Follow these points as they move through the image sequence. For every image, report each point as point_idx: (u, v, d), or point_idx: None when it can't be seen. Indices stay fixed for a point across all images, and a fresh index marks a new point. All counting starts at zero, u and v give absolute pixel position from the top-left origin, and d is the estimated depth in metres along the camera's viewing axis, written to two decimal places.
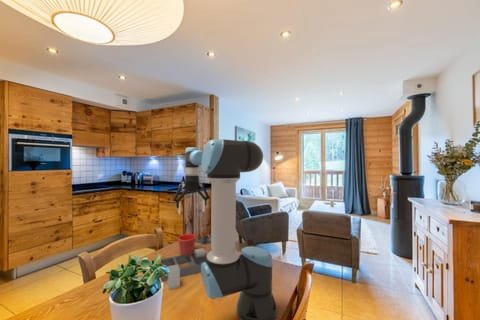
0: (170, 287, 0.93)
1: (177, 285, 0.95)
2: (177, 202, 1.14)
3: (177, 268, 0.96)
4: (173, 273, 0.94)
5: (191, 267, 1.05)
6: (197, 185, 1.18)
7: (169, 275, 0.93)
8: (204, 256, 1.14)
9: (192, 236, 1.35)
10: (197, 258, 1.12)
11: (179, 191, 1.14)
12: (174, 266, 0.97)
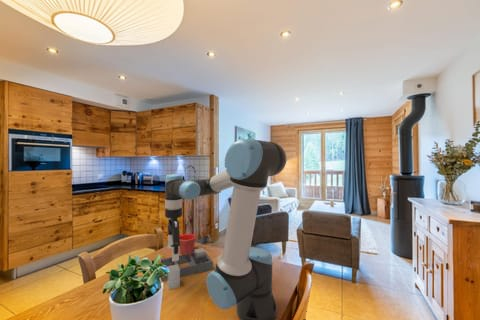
0: (170, 287, 0.93)
1: (177, 285, 0.95)
2: None
3: (177, 268, 0.96)
4: (173, 273, 0.94)
5: (191, 267, 1.05)
6: (171, 222, 0.93)
7: (169, 275, 0.93)
8: (204, 256, 1.14)
9: (192, 236, 1.35)
10: (197, 258, 1.12)
11: (168, 222, 1.02)
12: (174, 266, 0.97)
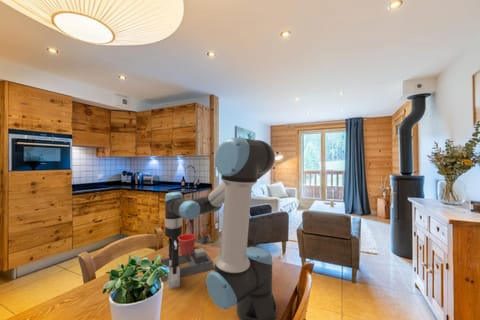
0: (170, 287, 0.93)
1: (177, 285, 0.95)
2: None
3: None
4: None
5: (191, 267, 1.05)
6: (171, 241, 0.93)
7: (169, 275, 0.93)
8: (204, 256, 1.14)
9: (192, 236, 1.35)
10: (197, 258, 1.12)
11: None
12: None
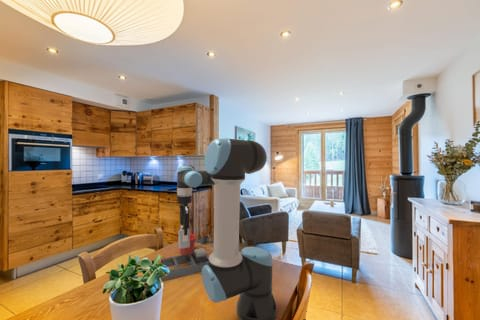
0: (181, 246, 1.08)
1: (187, 245, 1.10)
2: (181, 224, 1.15)
3: None
4: None
5: (191, 267, 1.05)
6: (183, 207, 1.08)
7: (181, 236, 1.08)
8: (204, 256, 1.14)
9: (192, 236, 1.35)
10: (197, 258, 1.12)
11: (180, 212, 1.16)
12: None
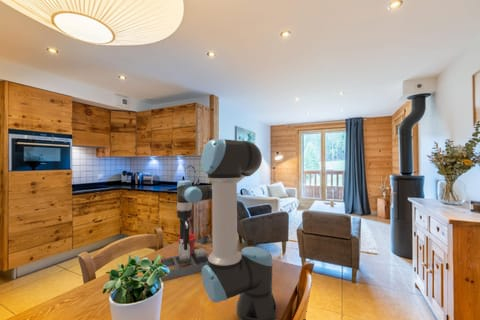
0: (181, 261, 1.08)
1: (187, 260, 1.10)
2: None
3: None
4: None
5: (191, 267, 1.05)
6: (183, 222, 1.08)
7: (181, 251, 1.08)
8: (204, 256, 1.14)
9: (192, 236, 1.35)
10: (197, 258, 1.12)
11: None
12: None
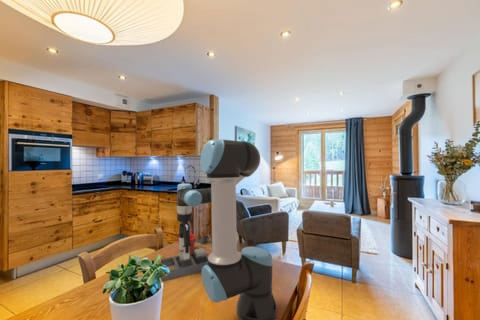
0: None
1: None
2: (180, 237, 1.17)
3: None
4: None
5: (191, 267, 1.05)
6: (183, 225, 1.08)
7: (181, 259, 1.08)
8: (204, 256, 1.14)
9: (192, 236, 1.35)
10: (197, 258, 1.12)
11: (179, 226, 1.17)
12: None
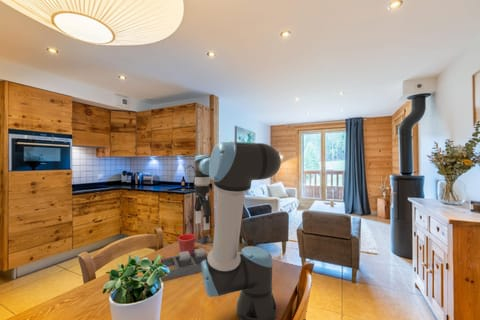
0: None
1: None
2: (196, 210, 1.15)
3: (187, 253, 1.11)
4: (184, 258, 1.09)
5: (191, 267, 1.05)
6: (201, 197, 1.06)
7: (181, 259, 1.08)
8: (204, 256, 1.14)
9: (192, 236, 1.35)
10: (197, 258, 1.12)
11: (196, 200, 1.14)
12: (185, 252, 1.12)
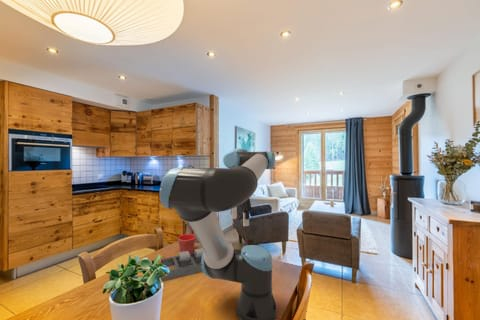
0: None
1: None
2: None
3: (187, 253, 1.11)
4: (184, 258, 1.09)
5: (191, 267, 1.05)
6: None
7: (181, 259, 1.08)
8: None
9: (192, 236, 1.35)
10: (197, 258, 1.12)
11: None
12: (185, 252, 1.12)
